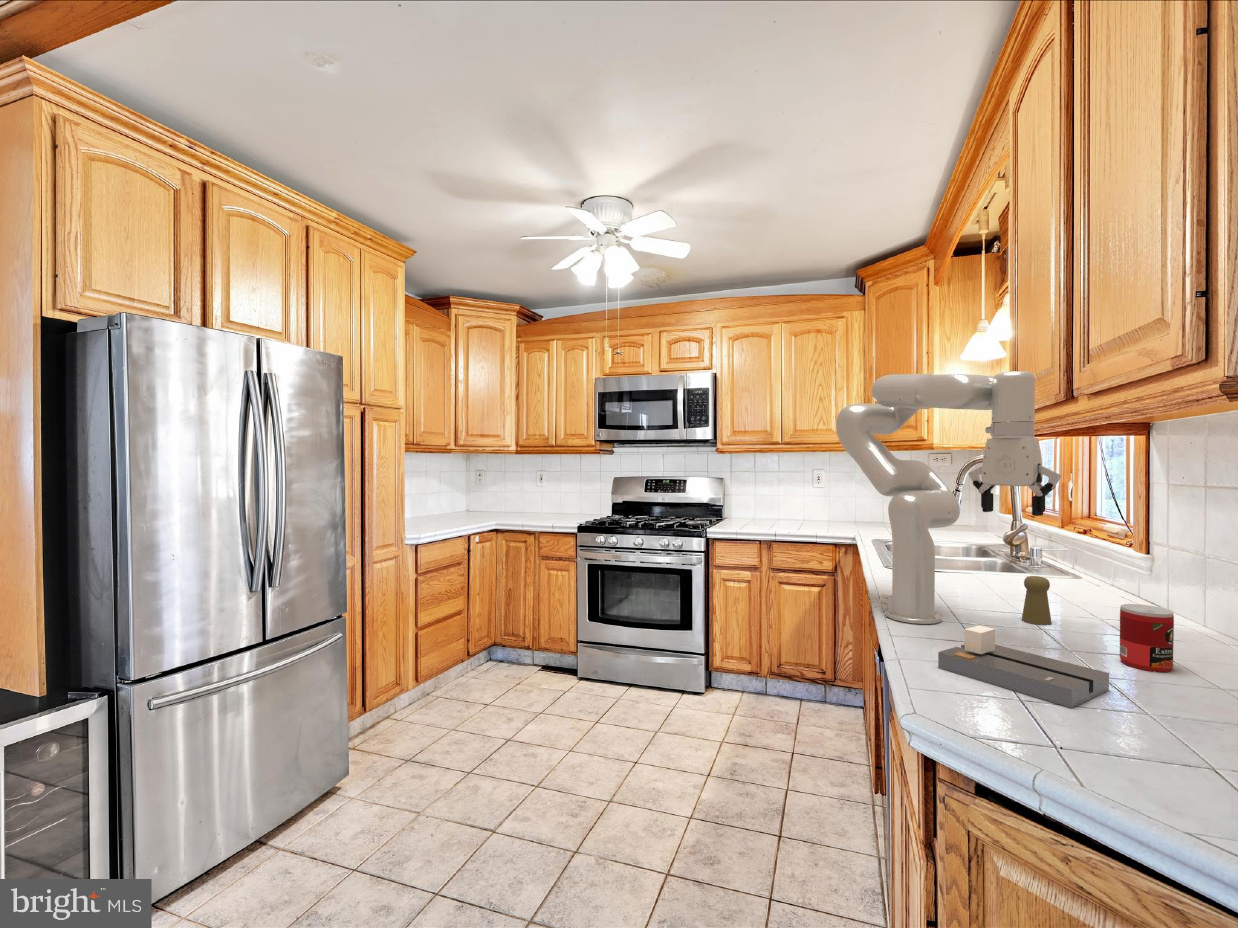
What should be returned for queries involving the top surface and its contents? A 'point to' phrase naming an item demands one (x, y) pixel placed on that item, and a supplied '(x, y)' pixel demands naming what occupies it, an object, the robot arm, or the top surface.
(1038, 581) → the cork
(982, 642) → the fader knob
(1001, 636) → the top surface
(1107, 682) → the fader console
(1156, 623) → the canned food
